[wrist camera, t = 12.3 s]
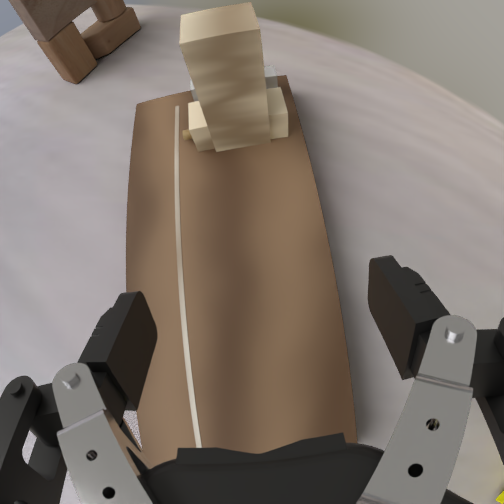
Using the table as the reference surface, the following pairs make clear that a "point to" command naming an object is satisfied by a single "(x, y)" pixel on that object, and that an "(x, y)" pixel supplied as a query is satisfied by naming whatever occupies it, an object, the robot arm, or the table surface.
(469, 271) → the table surface
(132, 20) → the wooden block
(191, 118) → the beige tall blocky piece
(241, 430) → the walnut board
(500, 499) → the yellow toy chassis
